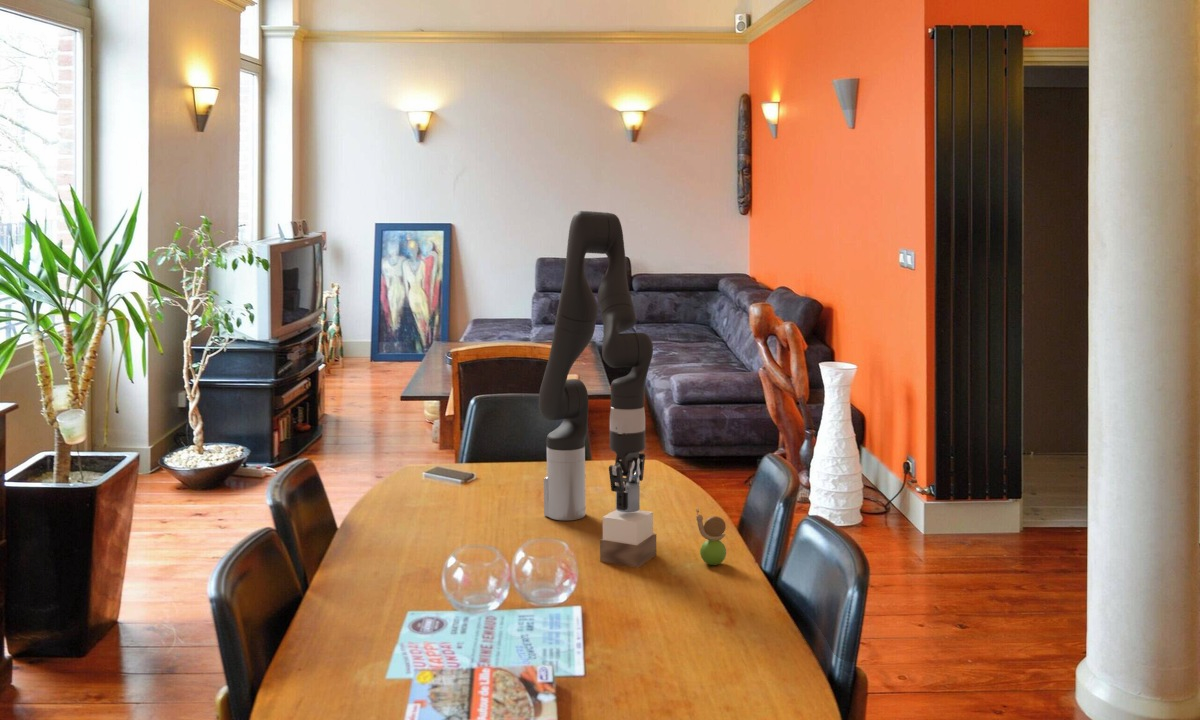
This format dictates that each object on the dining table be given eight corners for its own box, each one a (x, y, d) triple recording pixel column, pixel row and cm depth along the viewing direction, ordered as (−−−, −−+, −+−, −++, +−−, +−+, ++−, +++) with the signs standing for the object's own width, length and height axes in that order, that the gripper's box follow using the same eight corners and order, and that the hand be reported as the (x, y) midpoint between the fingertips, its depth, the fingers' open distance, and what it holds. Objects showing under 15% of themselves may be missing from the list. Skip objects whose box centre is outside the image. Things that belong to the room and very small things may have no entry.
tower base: (600, 562, 226) (600, 539, 225) (618, 550, 234) (618, 528, 233) (638, 569, 222) (638, 546, 221) (656, 556, 230) (656, 533, 229)
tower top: (602, 539, 225) (602, 517, 225) (619, 529, 232) (619, 507, 232) (637, 545, 222) (637, 522, 221) (652, 534, 229) (653, 511, 228)
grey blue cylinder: (612, 510, 225) (612, 487, 224) (621, 504, 230) (621, 481, 229) (633, 513, 223) (633, 490, 222) (643, 507, 227) (643, 484, 227)
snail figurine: (693, 560, 226) (694, 505, 224) (723, 559, 227) (724, 505, 225) (697, 569, 221) (698, 513, 219) (728, 568, 221) (729, 512, 220)
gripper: (625, 419, 232) (625, 495, 234) (596, 432, 219) (596, 513, 221) (657, 422, 228) (656, 499, 231) (630, 436, 216) (630, 517, 218)
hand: (627, 505), depth 226 cm, fingers closed on grey blue cylinder, 5 cm apart
